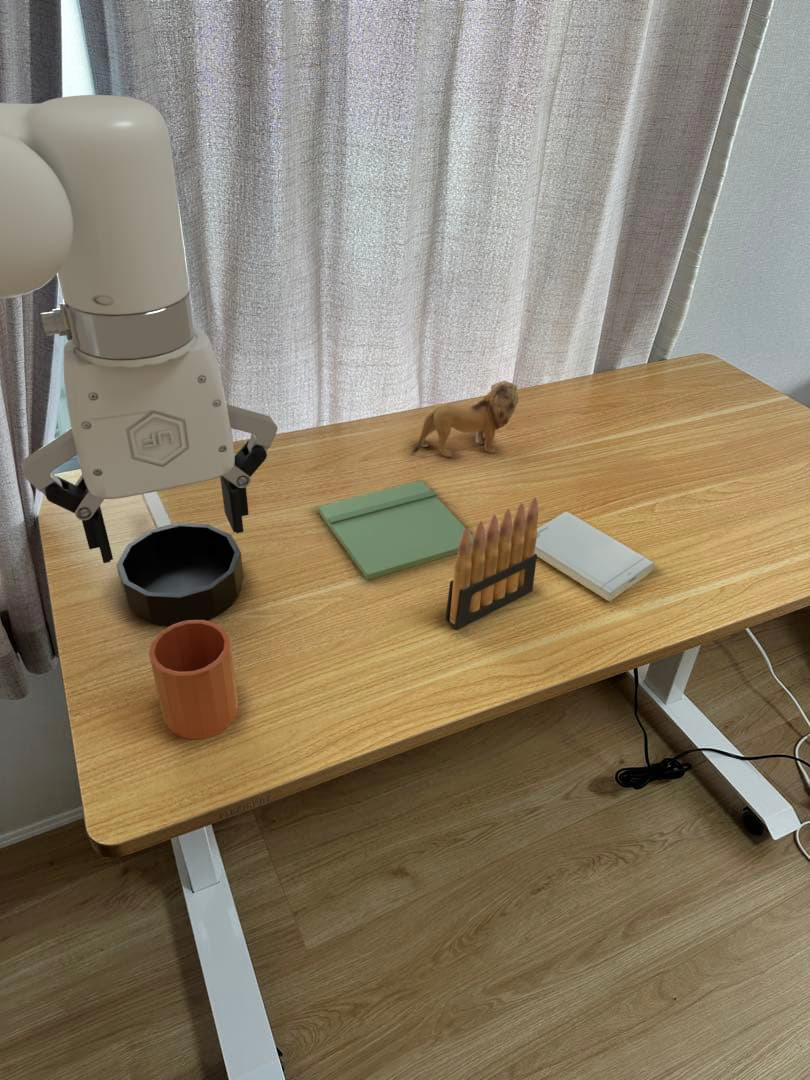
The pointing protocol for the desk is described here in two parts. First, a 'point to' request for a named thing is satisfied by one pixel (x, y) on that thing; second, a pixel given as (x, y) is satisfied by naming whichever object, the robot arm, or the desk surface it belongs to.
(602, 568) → the hard drive
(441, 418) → the lion figurine
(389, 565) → the notepad
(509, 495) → the desk surface
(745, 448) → the desk surface
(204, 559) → the pan
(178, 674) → the cup
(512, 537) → the ammunition clip
